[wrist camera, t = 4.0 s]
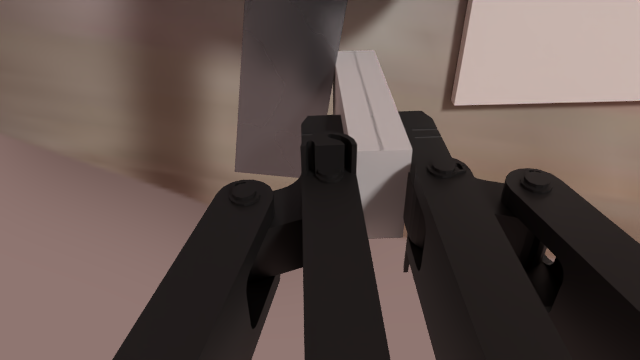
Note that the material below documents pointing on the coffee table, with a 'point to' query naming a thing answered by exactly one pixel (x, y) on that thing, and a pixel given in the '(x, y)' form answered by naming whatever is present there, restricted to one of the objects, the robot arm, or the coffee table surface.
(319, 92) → the bar
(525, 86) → the board
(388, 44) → the coffee table surface
